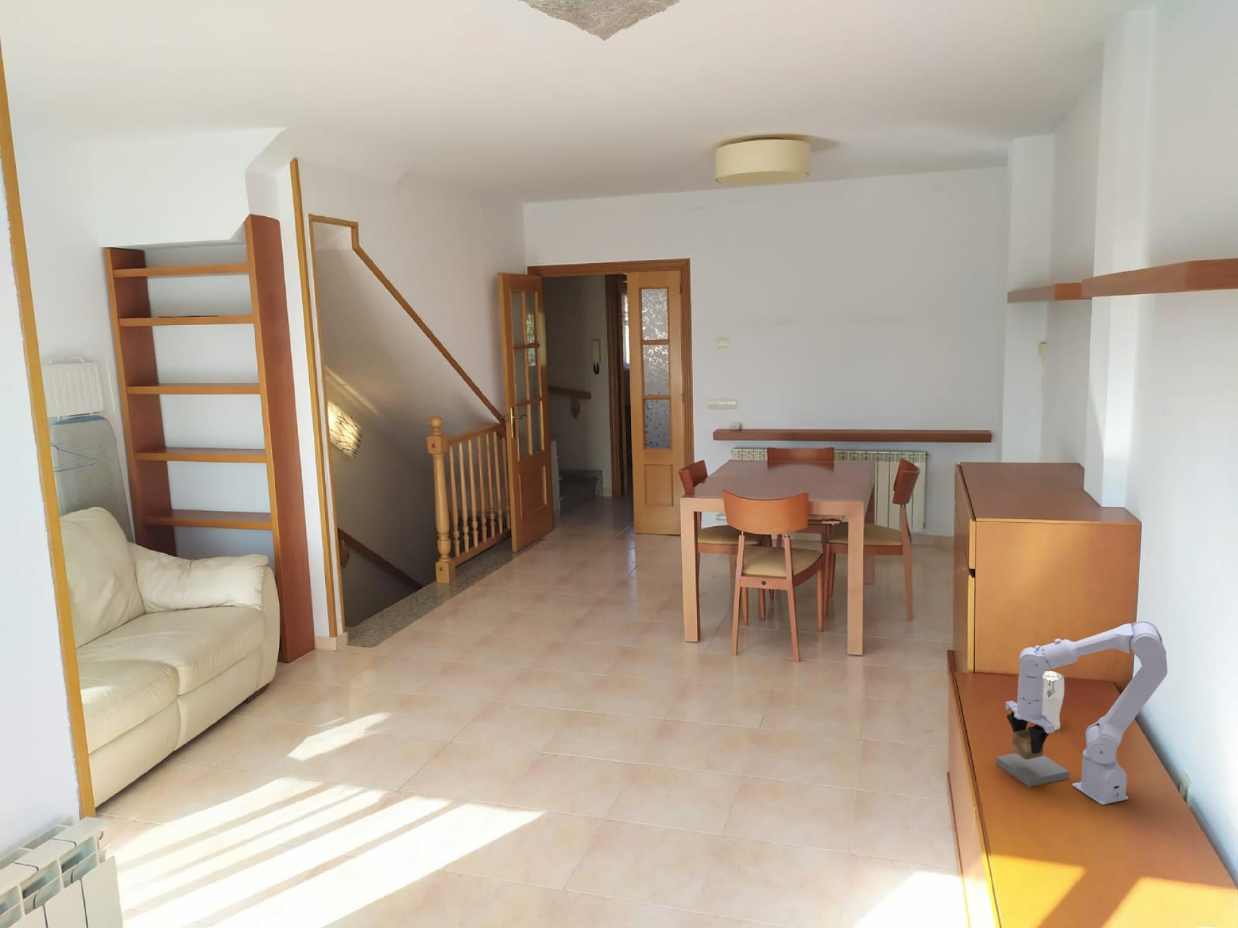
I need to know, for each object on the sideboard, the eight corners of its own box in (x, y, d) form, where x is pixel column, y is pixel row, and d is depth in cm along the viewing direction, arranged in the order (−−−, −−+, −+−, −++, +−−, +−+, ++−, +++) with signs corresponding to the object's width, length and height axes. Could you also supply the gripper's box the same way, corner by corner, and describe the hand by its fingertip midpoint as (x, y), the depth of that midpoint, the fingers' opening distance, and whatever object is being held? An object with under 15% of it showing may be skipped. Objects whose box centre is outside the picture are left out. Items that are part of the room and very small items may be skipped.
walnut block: (1042, 755, 221) (1043, 737, 220) (1026, 759, 219) (1027, 740, 218) (1028, 746, 225) (1028, 728, 225) (1011, 750, 224) (1012, 732, 223)
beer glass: (1059, 733, 246) (1062, 682, 244) (1032, 726, 250) (1034, 676, 248) (1064, 723, 252) (1067, 673, 249) (1037, 717, 256) (1040, 668, 253)
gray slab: (1068, 780, 223) (1069, 771, 223) (1029, 788, 220) (1029, 779, 219) (1034, 758, 234) (1034, 749, 234) (995, 765, 231) (996, 756, 231)
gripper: (996, 687, 226) (994, 737, 228) (1038, 710, 212) (1036, 763, 214) (1019, 683, 228) (1017, 732, 230) (1062, 706, 214) (1060, 758, 216)
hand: (1027, 747), depth 222 cm, fingers closed on walnut block, 5 cm apart
